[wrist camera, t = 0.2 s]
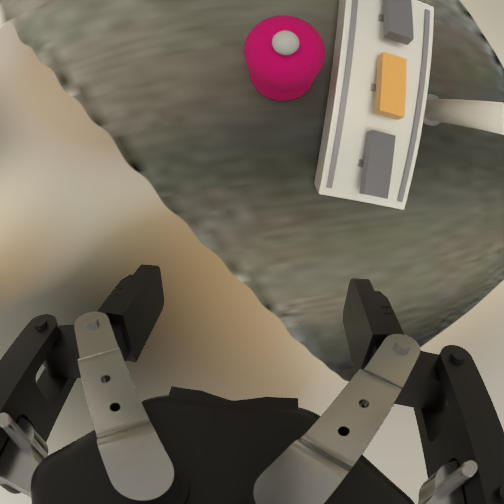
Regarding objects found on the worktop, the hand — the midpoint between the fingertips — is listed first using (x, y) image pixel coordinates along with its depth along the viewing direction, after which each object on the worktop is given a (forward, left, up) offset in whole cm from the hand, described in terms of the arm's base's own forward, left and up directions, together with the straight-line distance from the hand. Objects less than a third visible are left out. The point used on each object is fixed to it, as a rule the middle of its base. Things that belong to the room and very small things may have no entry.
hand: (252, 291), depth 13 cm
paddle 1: (-3, +11, -23) cm, 26 cm away
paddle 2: (-21, +11, -23) cm, 33 cm away
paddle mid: (-12, +11, -23) cm, 28 cm away
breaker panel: (-12, +12, -29) cm, 33 cm away
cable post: (-12, +20, -29) cm, 37 cm away
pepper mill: (-12, 0, -29) cm, 32 cm away
